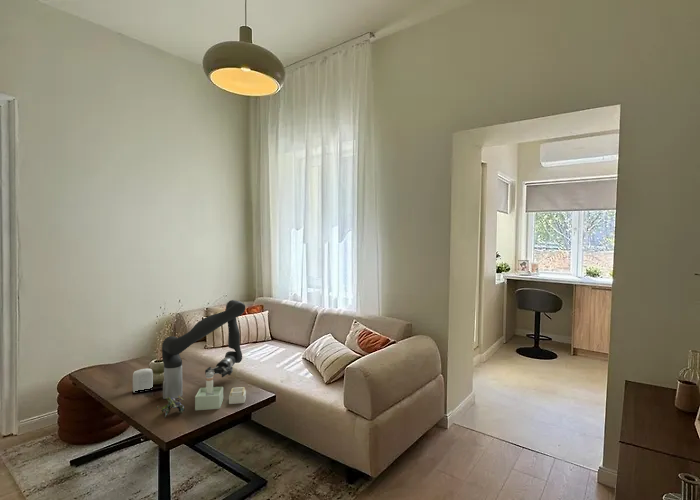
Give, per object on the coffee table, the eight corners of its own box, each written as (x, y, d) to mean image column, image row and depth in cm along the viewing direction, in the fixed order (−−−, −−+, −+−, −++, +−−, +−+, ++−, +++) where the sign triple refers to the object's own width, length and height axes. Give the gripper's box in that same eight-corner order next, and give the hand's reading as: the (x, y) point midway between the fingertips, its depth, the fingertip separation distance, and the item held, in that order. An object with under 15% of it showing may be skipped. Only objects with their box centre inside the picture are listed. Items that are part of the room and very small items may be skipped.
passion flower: (180, 423, 193) (191, 406, 190) (159, 428, 184) (170, 410, 182) (172, 405, 199) (182, 389, 196) (151, 409, 190) (162, 392, 188)
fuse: (205, 396, 200) (204, 374, 200) (206, 393, 204) (206, 371, 204) (212, 396, 201) (212, 373, 201) (214, 393, 205) (213, 371, 204)
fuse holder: (228, 404, 203) (228, 393, 203) (231, 397, 211) (231, 387, 211) (244, 403, 205) (244, 392, 204) (246, 396, 213) (245, 386, 212)
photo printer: (152, 387, 226) (152, 366, 226) (153, 389, 222) (153, 368, 222) (132, 390, 220) (132, 369, 220) (133, 393, 217) (132, 371, 216)
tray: (195, 410, 196) (195, 396, 196) (200, 400, 208) (200, 387, 207) (219, 408, 198) (219, 395, 198) (223, 399, 210) (223, 386, 209)
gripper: (212, 359, 226) (201, 368, 209) (236, 359, 225) (227, 368, 209) (212, 371, 226) (201, 382, 210) (236, 372, 226) (227, 382, 209)
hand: (214, 375), depth 210 cm, fingers open, 8 cm apart
